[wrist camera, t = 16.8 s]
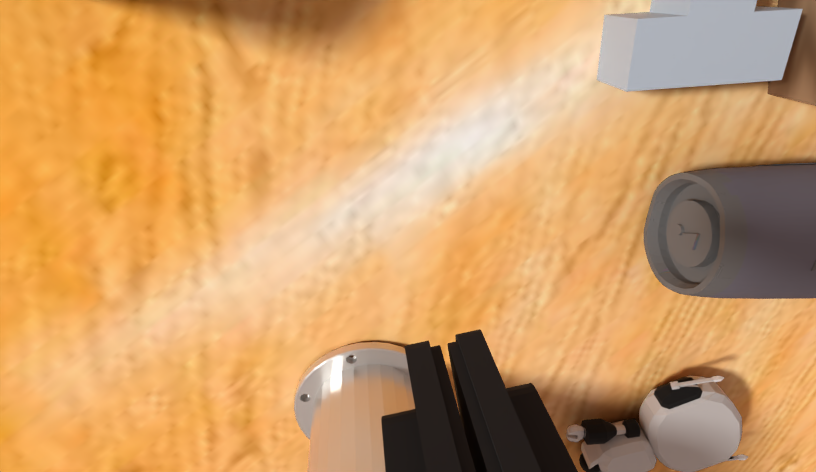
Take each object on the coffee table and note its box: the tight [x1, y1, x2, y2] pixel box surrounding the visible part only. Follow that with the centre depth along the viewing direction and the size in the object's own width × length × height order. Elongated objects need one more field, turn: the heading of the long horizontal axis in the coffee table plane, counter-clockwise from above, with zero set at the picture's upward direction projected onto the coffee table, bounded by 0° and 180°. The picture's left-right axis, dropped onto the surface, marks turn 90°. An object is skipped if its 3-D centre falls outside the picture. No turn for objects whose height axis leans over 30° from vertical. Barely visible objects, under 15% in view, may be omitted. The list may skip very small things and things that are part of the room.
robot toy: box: [566, 376, 748, 472], centre depth 47 cm, size 12×4×15 cm
